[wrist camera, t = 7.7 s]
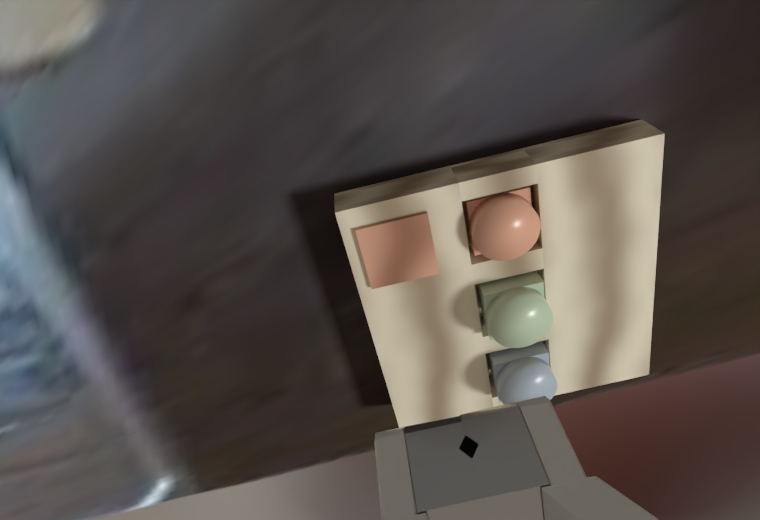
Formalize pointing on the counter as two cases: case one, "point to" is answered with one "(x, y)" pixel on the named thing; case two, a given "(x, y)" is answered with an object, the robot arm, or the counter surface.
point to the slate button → (522, 373)
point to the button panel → (510, 267)
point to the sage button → (515, 310)
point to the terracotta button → (502, 224)
